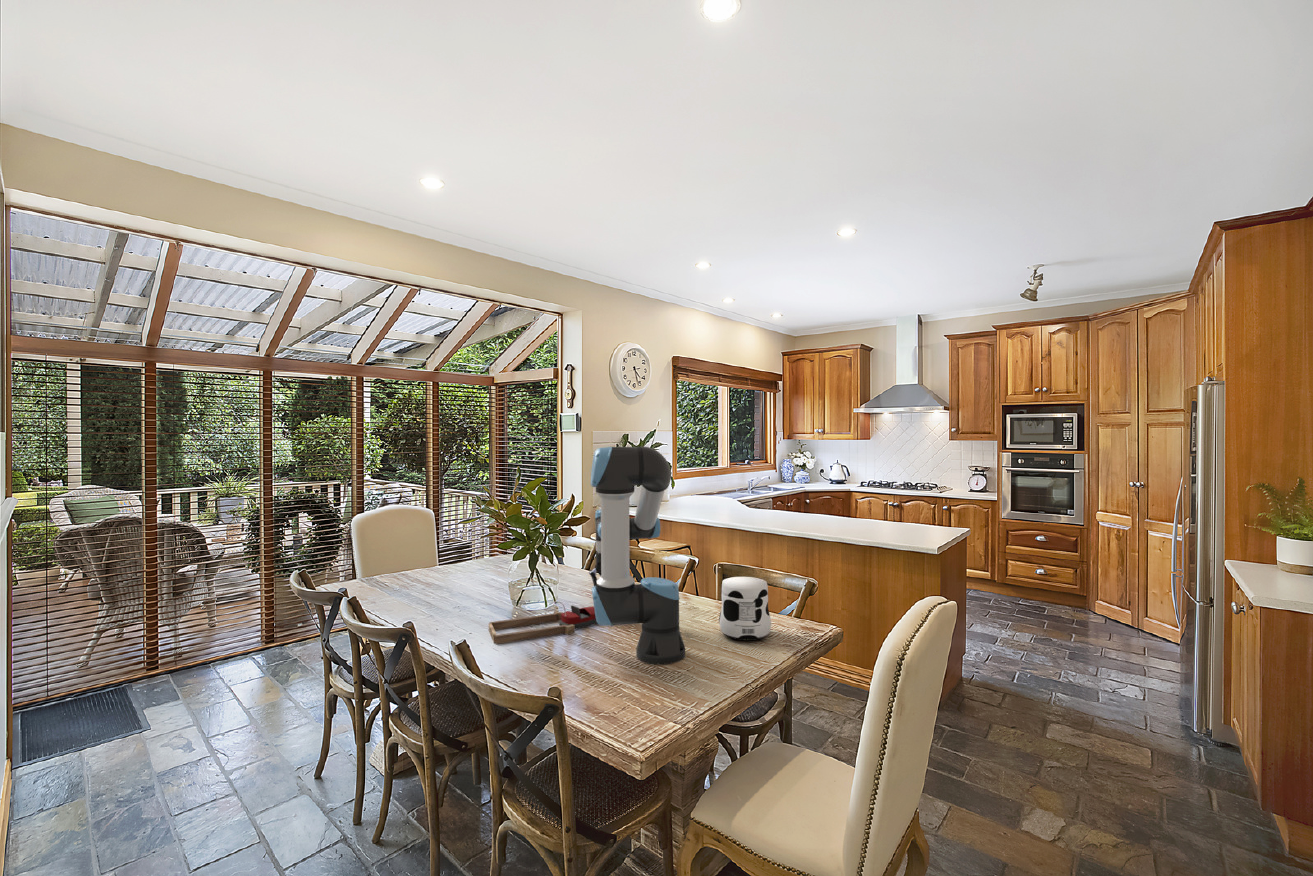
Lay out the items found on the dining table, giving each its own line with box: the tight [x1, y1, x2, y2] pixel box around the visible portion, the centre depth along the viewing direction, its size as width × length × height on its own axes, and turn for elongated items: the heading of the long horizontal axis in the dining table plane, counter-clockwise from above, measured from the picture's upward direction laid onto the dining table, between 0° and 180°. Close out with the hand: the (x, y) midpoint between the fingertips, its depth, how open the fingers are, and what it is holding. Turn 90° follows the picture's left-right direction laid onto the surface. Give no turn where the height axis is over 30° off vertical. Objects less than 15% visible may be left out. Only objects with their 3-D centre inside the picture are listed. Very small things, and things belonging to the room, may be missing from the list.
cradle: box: [488, 611, 576, 645], centre depth 201 cm, size 19×27×2 cm
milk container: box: [718, 576, 772, 641], centre depth 194 cm, size 17×17×18 cm
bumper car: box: [554, 600, 598, 630], centre depth 208 cm, size 10×20×10 cm, turn 132°
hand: (606, 614), depth 213 cm, fingers closed
